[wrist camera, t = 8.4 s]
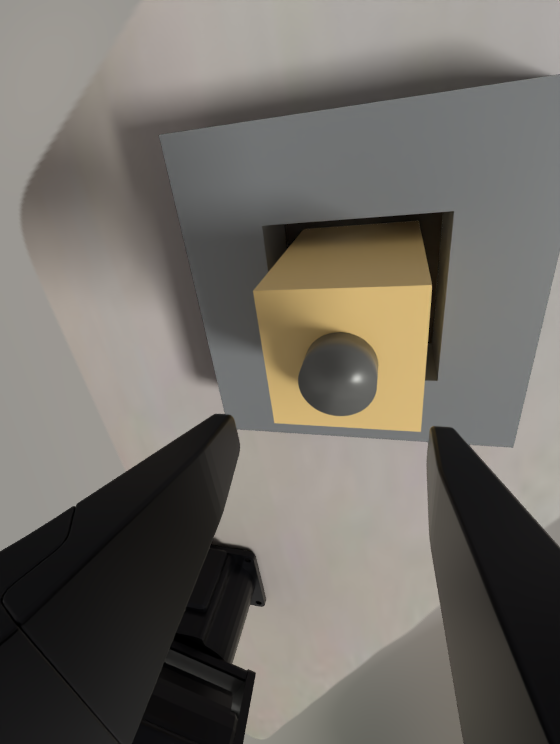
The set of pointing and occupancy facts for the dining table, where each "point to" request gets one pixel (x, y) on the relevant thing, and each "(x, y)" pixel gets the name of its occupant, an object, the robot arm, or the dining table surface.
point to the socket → (377, 199)
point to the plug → (348, 327)
